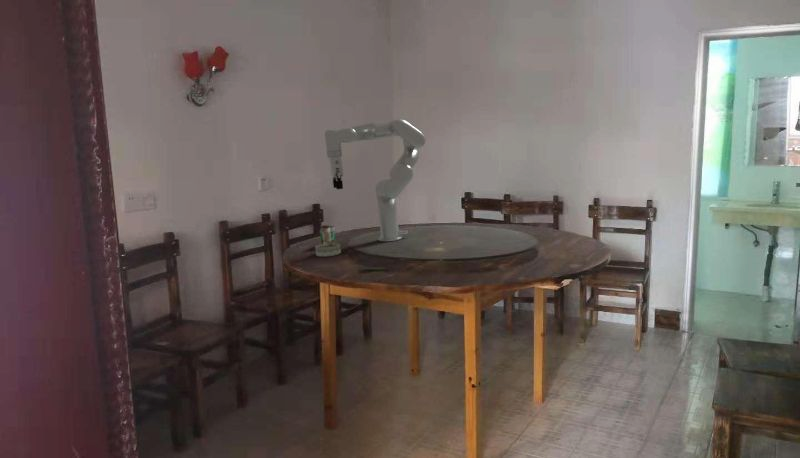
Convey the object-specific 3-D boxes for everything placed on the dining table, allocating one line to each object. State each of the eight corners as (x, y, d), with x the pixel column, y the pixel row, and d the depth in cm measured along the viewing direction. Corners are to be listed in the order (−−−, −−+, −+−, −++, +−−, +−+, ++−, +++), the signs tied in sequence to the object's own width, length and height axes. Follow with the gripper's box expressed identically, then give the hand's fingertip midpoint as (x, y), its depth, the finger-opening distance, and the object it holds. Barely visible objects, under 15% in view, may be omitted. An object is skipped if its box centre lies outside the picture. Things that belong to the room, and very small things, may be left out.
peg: (332, 252, 311) (329, 224, 309) (333, 253, 307) (330, 225, 305) (324, 253, 310) (320, 225, 308) (325, 254, 306) (321, 226, 304)
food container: (333, 248, 322) (330, 228, 320) (321, 248, 323) (319, 229, 322) (340, 243, 334) (337, 224, 332) (329, 243, 335) (326, 225, 333)
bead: (338, 249, 316) (337, 242, 315) (342, 254, 304) (341, 246, 303) (315, 253, 313) (314, 245, 312) (317, 257, 301) (317, 249, 301)
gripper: (344, 154, 307) (348, 188, 310) (339, 153, 323) (342, 186, 326) (329, 155, 305) (333, 190, 308) (324, 154, 322) (328, 187, 325)
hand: (338, 188), depth 317 cm, fingers open, 9 cm apart
